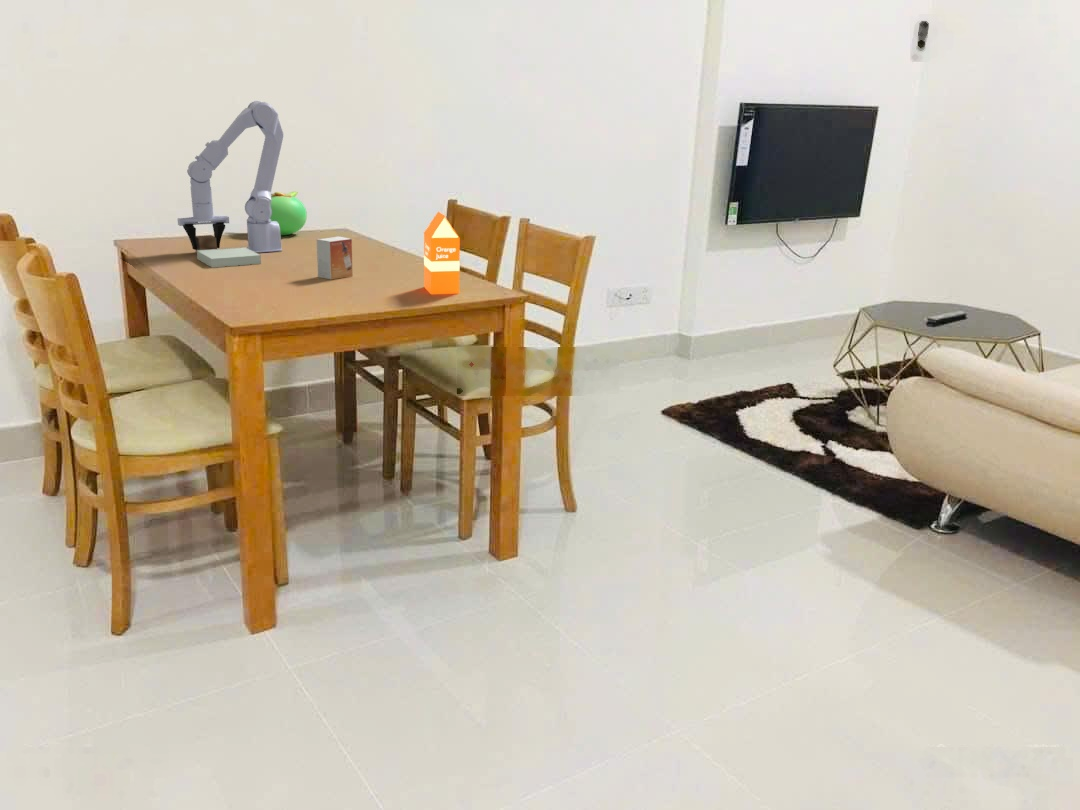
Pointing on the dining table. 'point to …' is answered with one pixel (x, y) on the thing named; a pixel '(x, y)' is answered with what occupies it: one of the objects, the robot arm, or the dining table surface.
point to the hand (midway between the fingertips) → (206, 248)
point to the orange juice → (441, 257)
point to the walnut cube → (206, 242)
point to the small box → (334, 257)
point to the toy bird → (288, 212)
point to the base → (228, 257)
